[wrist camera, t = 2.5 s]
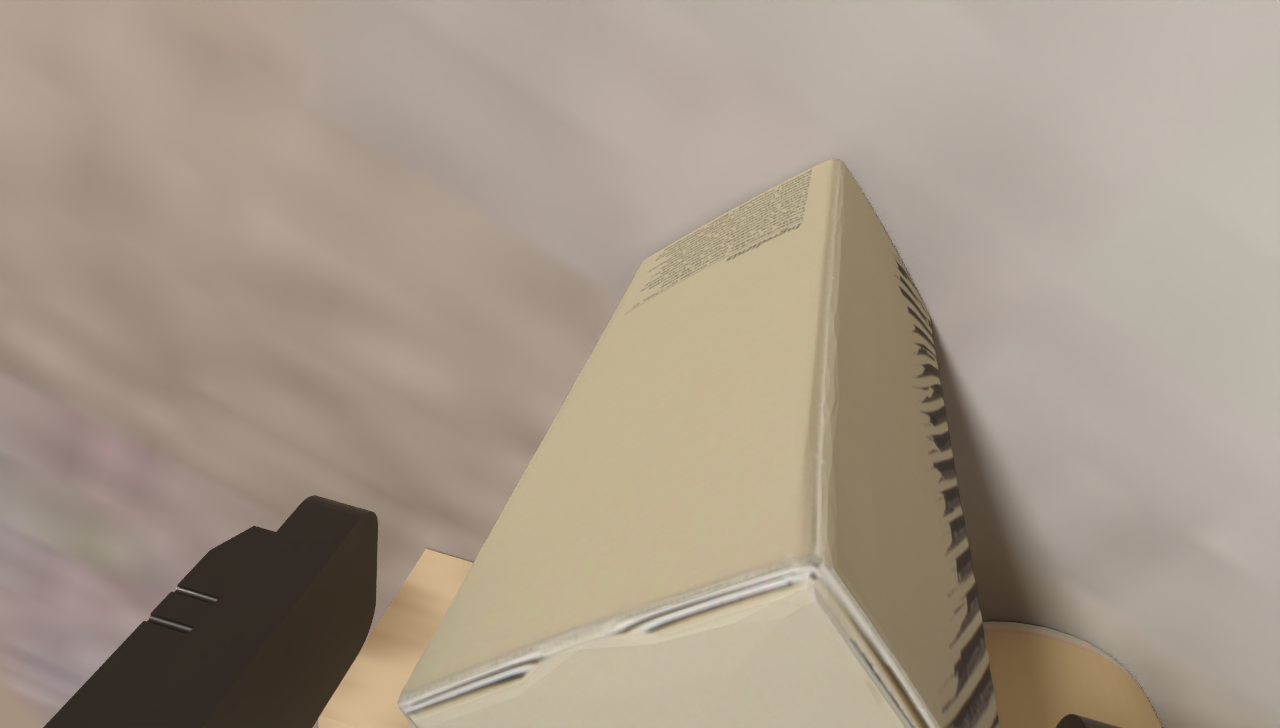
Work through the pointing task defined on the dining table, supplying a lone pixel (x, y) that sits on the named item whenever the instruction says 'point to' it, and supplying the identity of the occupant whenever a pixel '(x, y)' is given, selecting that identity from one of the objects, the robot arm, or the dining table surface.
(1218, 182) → the dining table surface
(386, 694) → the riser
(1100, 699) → the coffee cup
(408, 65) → the dining table surface
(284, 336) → the dining table surface
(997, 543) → the dining table surface
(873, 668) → the box
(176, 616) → the robot arm
